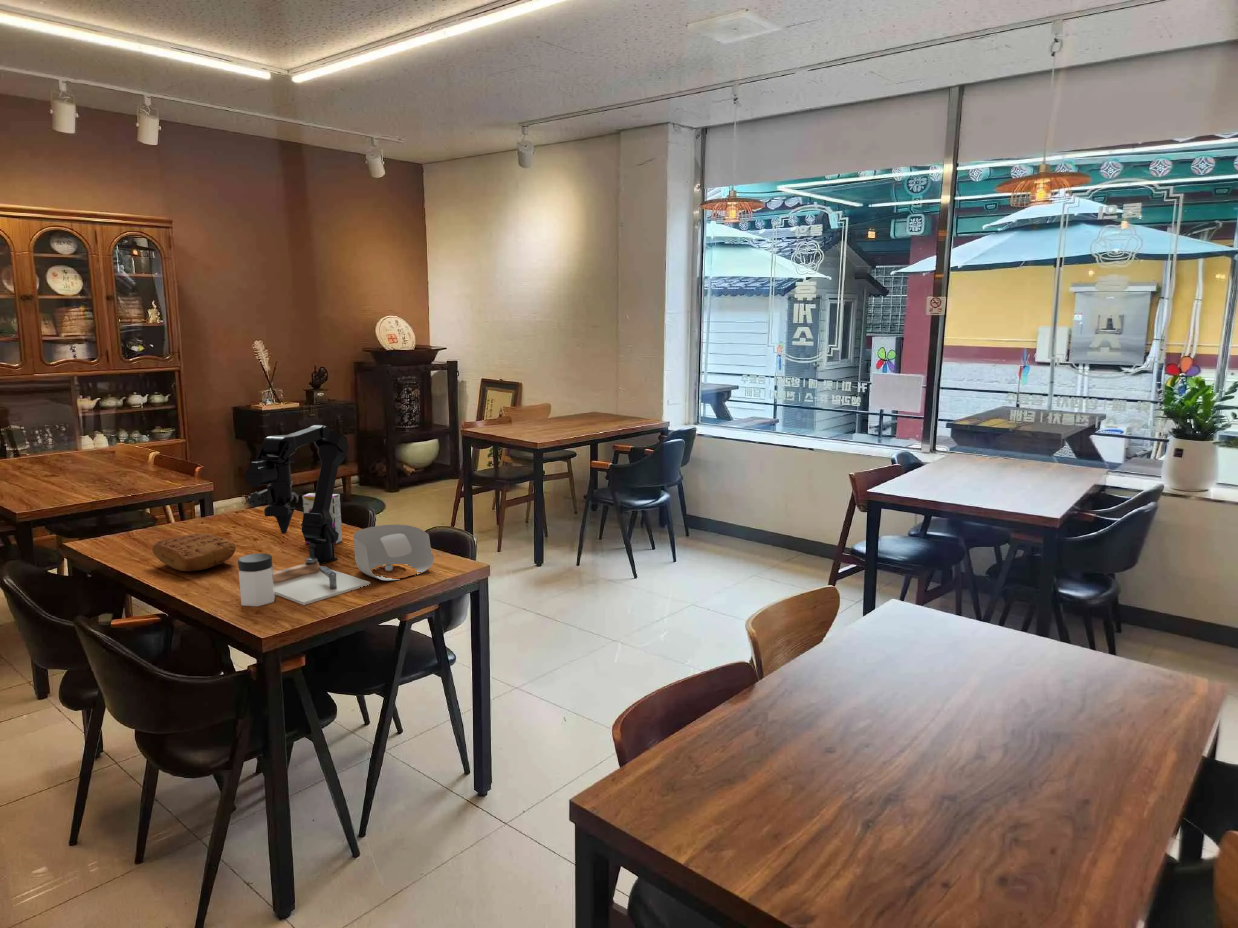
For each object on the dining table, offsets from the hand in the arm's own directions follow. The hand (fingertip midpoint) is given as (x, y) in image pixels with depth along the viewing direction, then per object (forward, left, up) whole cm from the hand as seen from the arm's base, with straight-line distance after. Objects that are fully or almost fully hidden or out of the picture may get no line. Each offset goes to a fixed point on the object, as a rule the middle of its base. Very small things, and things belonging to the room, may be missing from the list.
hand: (284, 533), depth 227 cm
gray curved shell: (-21, +19, -13) cm, 32 cm away
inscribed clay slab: (+11, -32, -13) cm, 36 cm away
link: (+1, +4, -12) cm, 13 cm away
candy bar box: (-27, -24, -13) cm, 38 cm away
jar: (+16, +13, -13) cm, 25 cm away
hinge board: (0, +12, -13) cm, 18 cm away
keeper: (-3, +13, -12) cm, 18 cm away
